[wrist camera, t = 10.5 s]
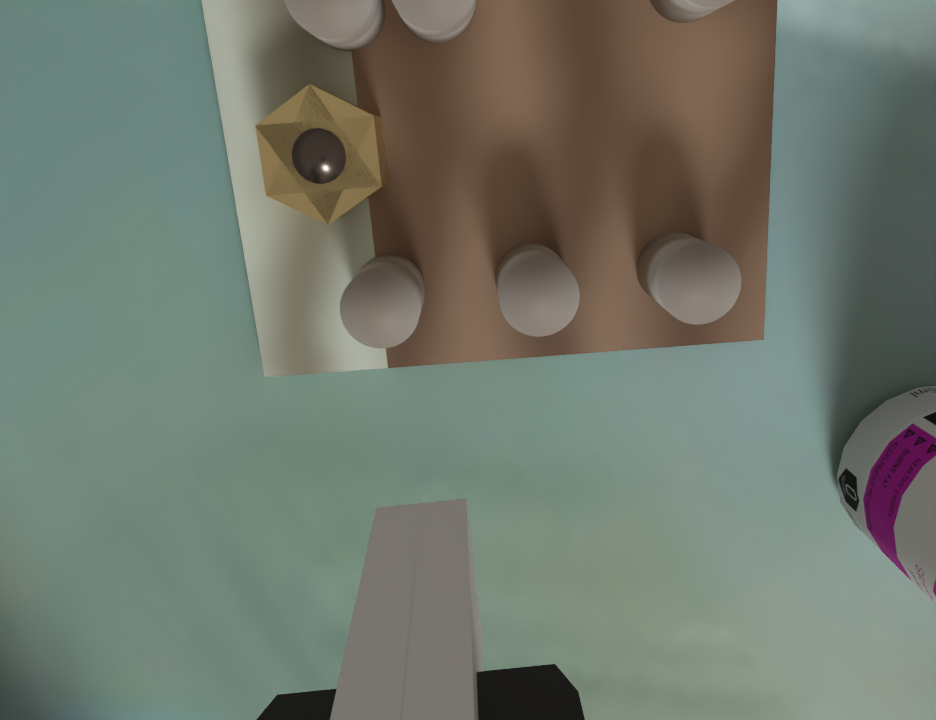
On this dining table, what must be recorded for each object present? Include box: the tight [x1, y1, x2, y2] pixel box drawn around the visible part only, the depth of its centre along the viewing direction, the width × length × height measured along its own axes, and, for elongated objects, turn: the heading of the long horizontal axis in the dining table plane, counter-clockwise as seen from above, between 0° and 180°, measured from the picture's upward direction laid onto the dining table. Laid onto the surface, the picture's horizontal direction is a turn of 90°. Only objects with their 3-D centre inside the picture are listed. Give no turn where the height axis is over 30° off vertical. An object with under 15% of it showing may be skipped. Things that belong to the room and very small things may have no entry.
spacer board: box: [202, 0, 777, 377], centre depth 28 cm, size 22×17×5 cm
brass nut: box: [255, 84, 388, 225], centre depth 28 cm, size 4×5×2 cm
